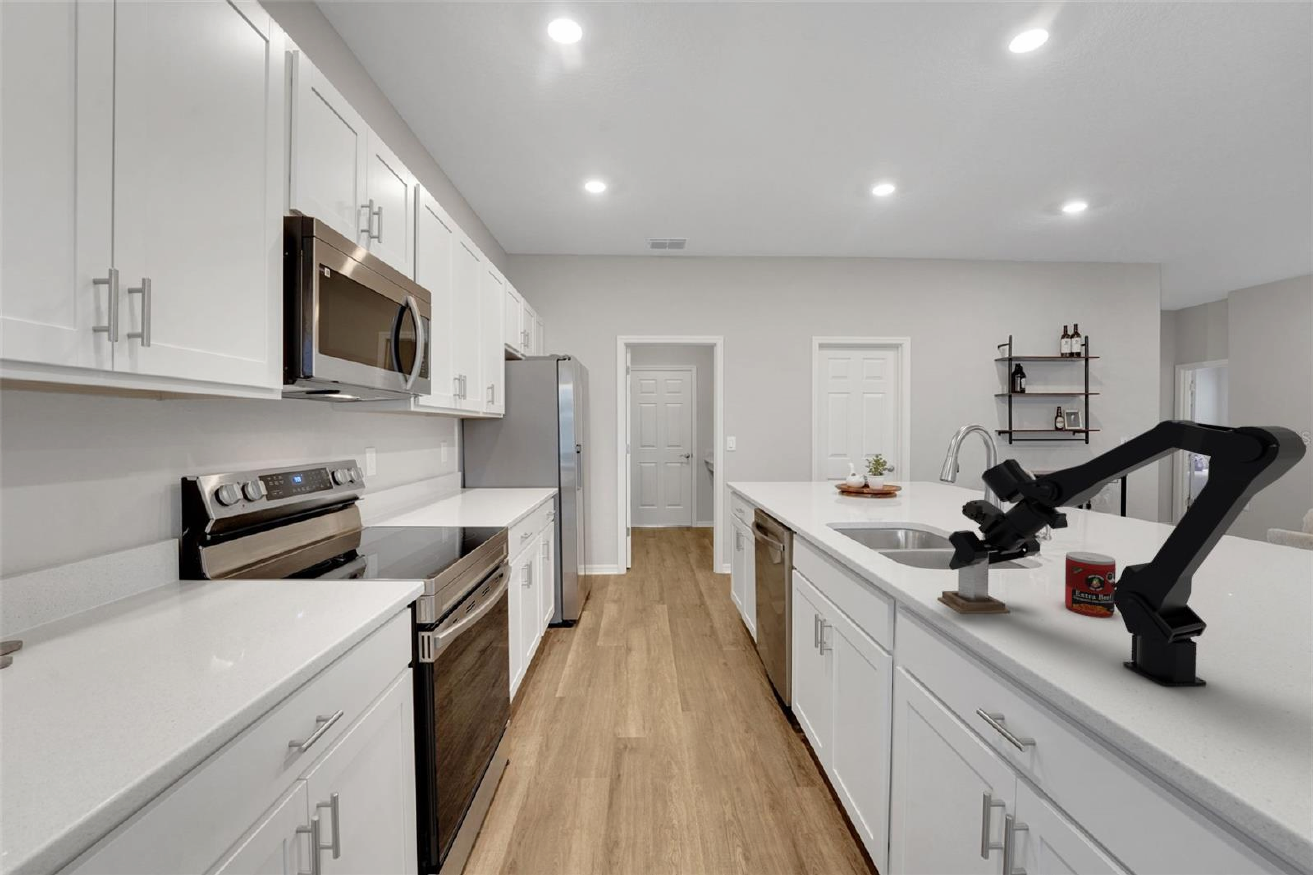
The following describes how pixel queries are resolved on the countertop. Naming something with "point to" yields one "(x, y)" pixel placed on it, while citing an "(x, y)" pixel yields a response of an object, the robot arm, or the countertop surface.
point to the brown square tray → (972, 604)
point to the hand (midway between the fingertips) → (967, 565)
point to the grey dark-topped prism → (974, 582)
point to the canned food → (1090, 583)
